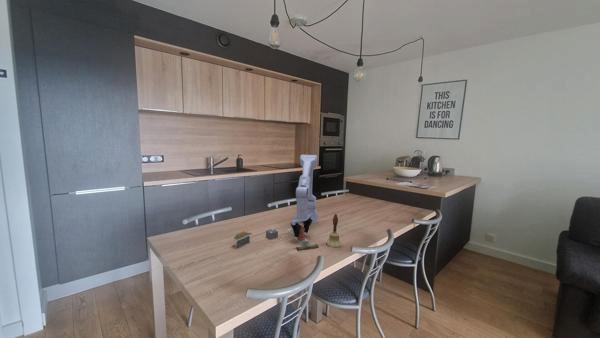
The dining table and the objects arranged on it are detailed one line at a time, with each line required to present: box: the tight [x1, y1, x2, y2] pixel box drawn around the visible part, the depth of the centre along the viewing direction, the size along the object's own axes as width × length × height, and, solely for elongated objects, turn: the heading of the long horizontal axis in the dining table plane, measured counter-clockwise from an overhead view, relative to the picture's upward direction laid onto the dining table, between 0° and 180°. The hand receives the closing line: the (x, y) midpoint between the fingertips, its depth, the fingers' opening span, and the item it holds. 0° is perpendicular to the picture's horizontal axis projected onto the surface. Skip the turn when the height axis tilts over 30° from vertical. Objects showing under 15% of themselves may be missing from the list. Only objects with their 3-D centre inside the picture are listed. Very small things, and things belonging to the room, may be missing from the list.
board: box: [287, 227, 319, 252], centre depth 131 cm, size 11×25×1 cm, turn 21°
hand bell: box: [325, 213, 343, 248], centre depth 126 cm, size 8×8×16 cm
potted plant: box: [233, 230, 253, 248], centre depth 123 cm, size 12×18×7 cm, turn 143°
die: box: [265, 228, 279, 241], centre depth 130 cm, size 4×4×5 cm
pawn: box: [297, 225, 306, 242], centre depth 128 cm, size 4×4×7 cm
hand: (301, 234), depth 128 cm, fingers open, 7 cm apart
